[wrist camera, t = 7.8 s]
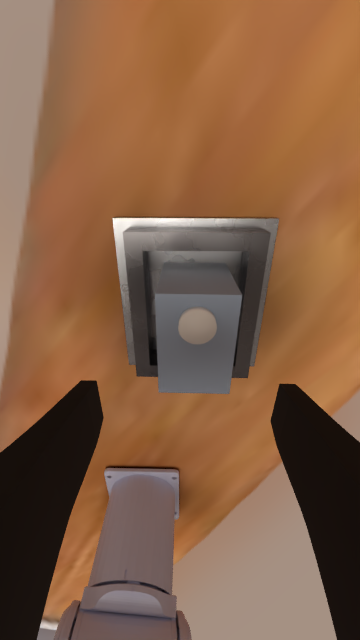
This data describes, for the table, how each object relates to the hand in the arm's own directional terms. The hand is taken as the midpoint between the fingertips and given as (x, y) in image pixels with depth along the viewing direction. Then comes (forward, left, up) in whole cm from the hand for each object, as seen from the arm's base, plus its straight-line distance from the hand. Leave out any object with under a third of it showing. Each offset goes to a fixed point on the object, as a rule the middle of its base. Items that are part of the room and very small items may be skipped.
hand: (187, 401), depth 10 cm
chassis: (0, -1, -9) cm, 9 cm away
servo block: (0, -1, -9) cm, 9 cm away
